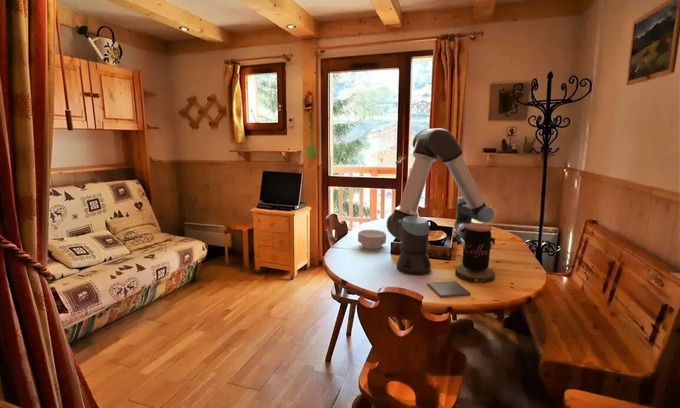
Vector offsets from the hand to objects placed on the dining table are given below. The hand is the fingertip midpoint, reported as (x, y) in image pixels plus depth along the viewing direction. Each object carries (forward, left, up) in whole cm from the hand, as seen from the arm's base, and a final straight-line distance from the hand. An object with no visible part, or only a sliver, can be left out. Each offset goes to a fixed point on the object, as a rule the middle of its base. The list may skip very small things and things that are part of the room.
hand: (477, 245), depth 151 cm
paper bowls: (-33, +50, -14) cm, 61 cm away
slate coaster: (-18, -10, -14) cm, 25 cm away
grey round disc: (0, +2, -15) cm, 15 cm away
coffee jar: (0, +2, -10) cm, 10 cm away
